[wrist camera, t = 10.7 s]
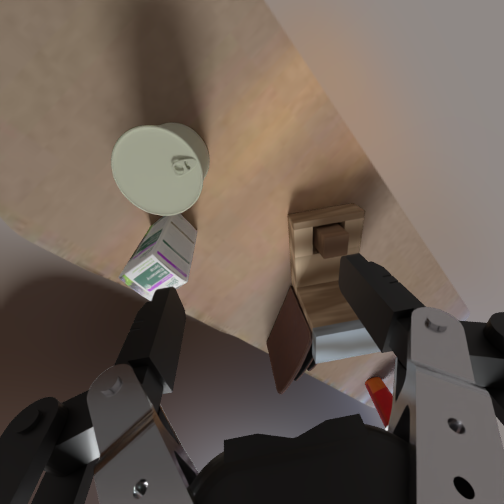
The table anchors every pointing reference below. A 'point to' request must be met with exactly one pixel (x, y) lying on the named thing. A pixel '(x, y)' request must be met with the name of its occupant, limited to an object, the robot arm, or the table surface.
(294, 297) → the letter holder
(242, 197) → the table surface
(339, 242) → the peg
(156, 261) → the syrup box
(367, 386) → the paper cup
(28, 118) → the table surface
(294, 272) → the socket stand
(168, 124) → the can
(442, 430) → the robot arm
